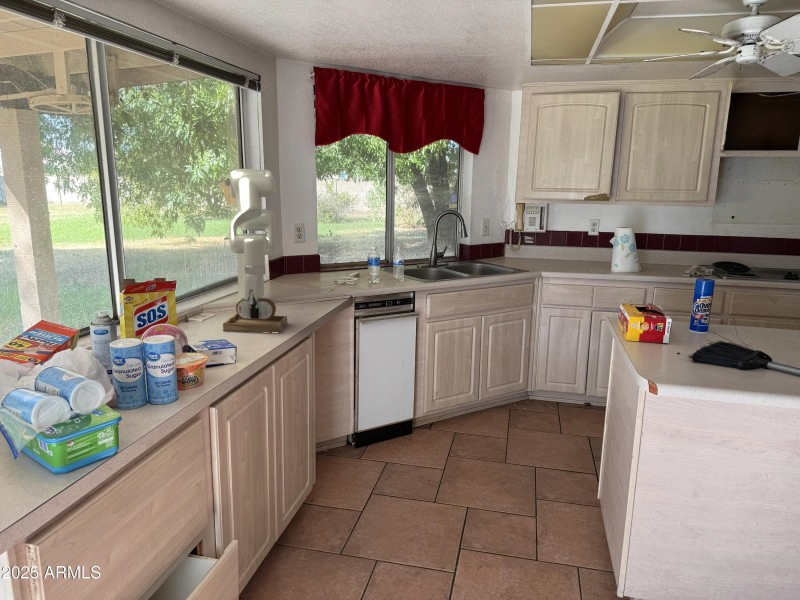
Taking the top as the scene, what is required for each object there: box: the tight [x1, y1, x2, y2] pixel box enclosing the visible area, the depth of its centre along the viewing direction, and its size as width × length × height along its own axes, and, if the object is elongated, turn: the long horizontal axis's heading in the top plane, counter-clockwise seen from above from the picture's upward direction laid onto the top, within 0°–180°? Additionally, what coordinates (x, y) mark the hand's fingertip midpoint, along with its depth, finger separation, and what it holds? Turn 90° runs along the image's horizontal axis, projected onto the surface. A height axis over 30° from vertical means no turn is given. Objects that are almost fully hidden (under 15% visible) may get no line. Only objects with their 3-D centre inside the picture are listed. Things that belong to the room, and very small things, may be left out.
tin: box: [235, 297, 277, 320], centre depth 207 cm, size 15×3×8 cm, turn 88°
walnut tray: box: [222, 313, 288, 334], centre depth 208 cm, size 15×21×3 cm
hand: (255, 316), depth 208 cm, fingers closed on tin, 2 cm apart
